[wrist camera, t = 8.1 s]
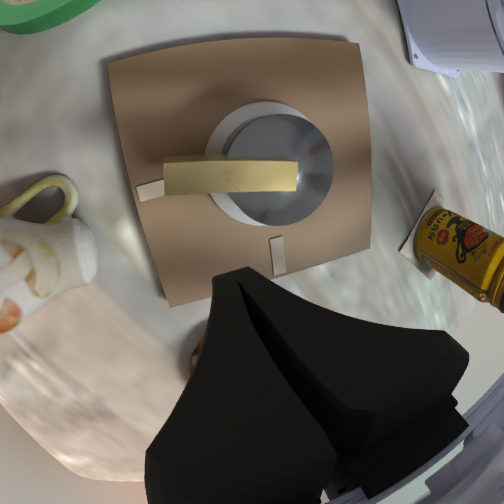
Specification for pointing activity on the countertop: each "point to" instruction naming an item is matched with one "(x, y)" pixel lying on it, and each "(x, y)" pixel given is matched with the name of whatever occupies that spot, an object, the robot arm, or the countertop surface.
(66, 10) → the tape roll
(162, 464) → the robot arm
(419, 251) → the condiment
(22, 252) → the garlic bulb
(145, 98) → the post base
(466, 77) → the countertop surface
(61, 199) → the countertop surface
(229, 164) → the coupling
